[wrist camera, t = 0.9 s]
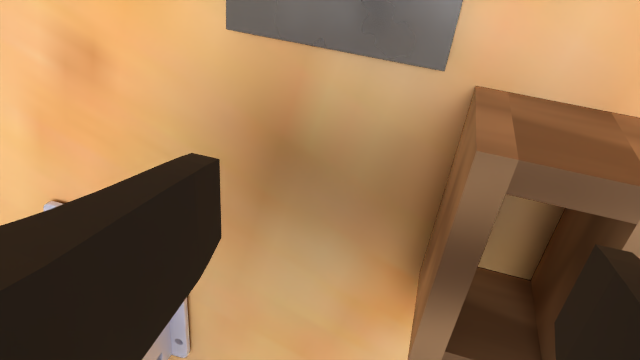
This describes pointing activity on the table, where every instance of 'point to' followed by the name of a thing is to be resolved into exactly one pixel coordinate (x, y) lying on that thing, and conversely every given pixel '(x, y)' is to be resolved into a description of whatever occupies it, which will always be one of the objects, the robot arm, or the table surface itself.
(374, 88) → the table surface
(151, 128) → the table surface
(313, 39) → the panel
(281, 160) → the table surface
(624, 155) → the walnut link
